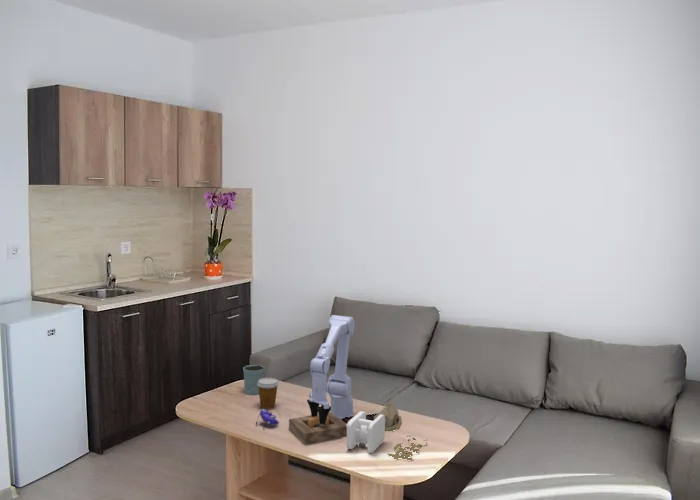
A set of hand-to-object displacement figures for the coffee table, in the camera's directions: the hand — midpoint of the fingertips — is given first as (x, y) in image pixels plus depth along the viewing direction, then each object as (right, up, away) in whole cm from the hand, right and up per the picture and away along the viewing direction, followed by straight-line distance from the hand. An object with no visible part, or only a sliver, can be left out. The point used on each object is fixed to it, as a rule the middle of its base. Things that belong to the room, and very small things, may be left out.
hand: (318, 420), depth 247 cm
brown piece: (0, -5, +1) cm, 5 cm away
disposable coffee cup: (-24, -2, +28) cm, 37 cm away
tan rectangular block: (0, -4, 0) cm, 4 cm away
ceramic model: (+28, -5, +10) cm, 31 cm away
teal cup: (-34, 0, +47) cm, 58 cm away
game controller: (-22, -5, +7) cm, 23 cm away
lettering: (+36, -8, -11) cm, 38 cm away
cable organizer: (+19, -7, -11) cm, 23 cm away
